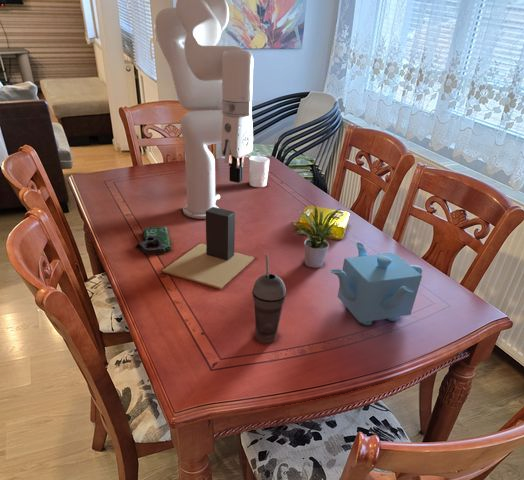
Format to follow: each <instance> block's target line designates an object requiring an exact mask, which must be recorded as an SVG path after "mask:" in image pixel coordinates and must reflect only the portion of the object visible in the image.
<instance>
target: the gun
mask: <svg viewBox="0 0 524 480" xmlns="http://www.w3.org/2000/svg"><path fill="white" fill-rule="evenodd" d="M142 238H143V241H141V242H138V243H136V245H135V246H136V247H135V248H138V249H139V250H141V252H142V253H144V254H147V255H157V254H161V255H162V254H163V255H165V253H168V252H170V251H171V250H172V246H171V245H172V242H171V239H170V237H169V231H168V228H167V227H166V226H165V225H163V226H162V225H161V226H160V225H159V226H148V227H145V228H144V230H143V231H142ZM152 246H156V247H155V248H148V247H152Z"/></svg>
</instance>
